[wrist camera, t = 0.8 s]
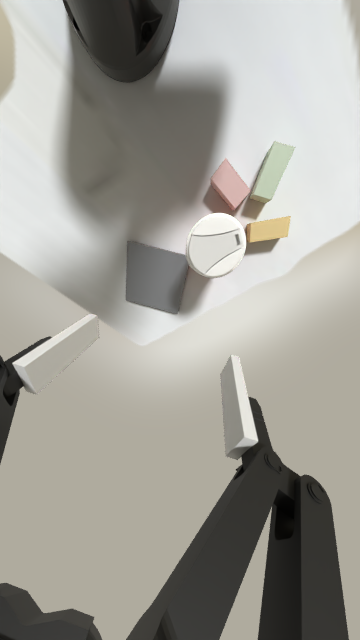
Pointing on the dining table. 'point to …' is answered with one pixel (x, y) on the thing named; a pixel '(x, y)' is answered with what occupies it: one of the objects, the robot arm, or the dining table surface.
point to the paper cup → (215, 245)
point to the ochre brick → (268, 229)
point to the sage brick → (271, 172)
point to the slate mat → (155, 277)
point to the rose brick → (229, 185)
